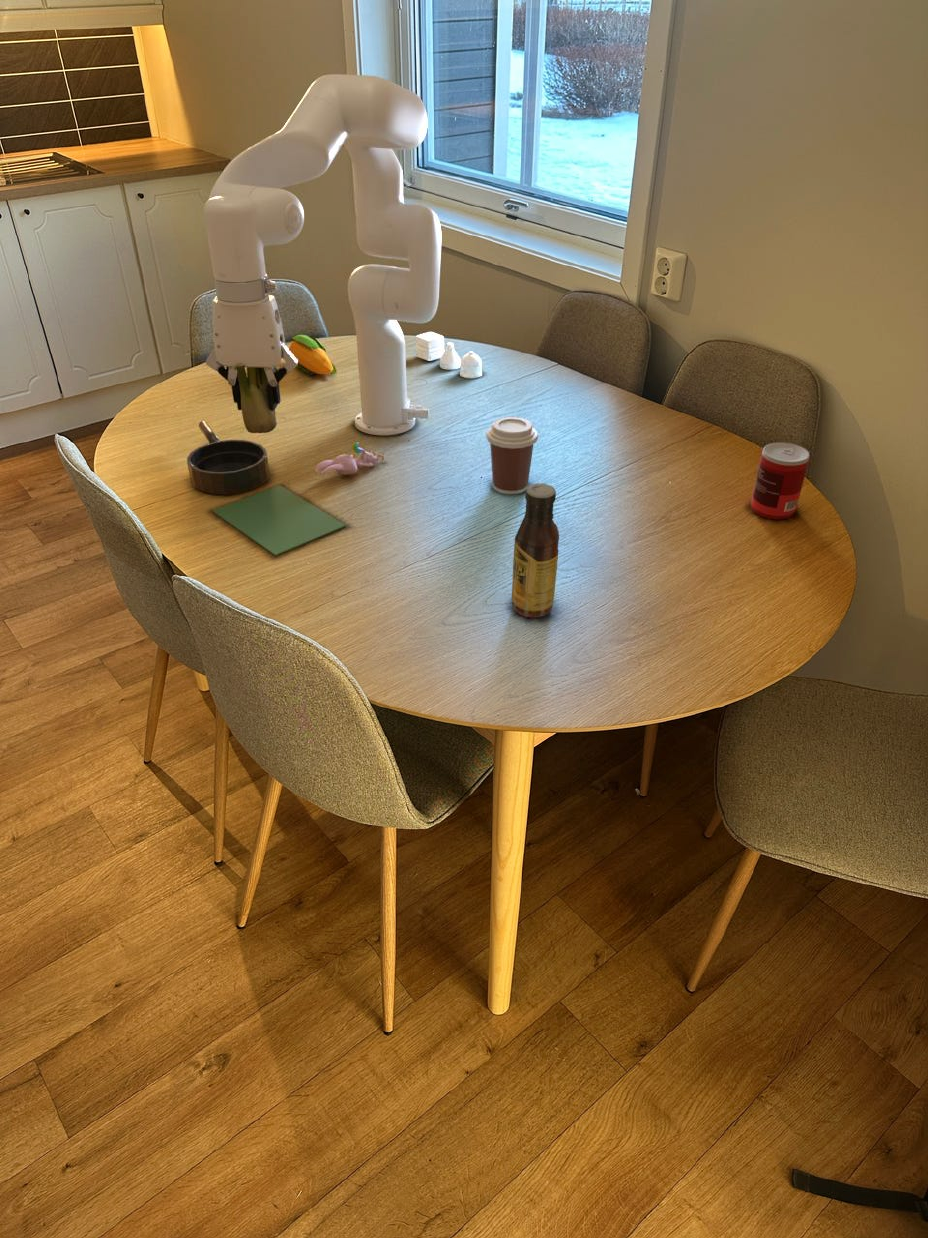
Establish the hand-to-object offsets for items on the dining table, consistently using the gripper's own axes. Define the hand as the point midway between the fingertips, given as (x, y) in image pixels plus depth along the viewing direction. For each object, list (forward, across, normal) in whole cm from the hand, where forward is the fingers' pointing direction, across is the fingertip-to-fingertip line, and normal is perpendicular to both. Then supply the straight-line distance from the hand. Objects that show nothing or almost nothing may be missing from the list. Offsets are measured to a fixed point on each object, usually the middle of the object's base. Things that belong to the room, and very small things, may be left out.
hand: (258, 406), depth 139 cm
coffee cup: (+20, -41, -14) cm, 48 cm away
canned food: (+20, -87, -7) cm, 90 cm away
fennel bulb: (+4, 0, 0) cm, 4 cm away
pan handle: (+17, +18, -25) cm, 35 cm away
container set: (+20, -26, -75) cm, 82 cm away
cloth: (+20, -1, +1) cm, 20 cm away
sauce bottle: (+20, -44, +26) cm, 55 cm away
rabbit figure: (+20, -11, -17) cm, 29 cm away
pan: (+20, +11, -14) cm, 27 cm away
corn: (+20, +6, -70) cm, 73 cm away
